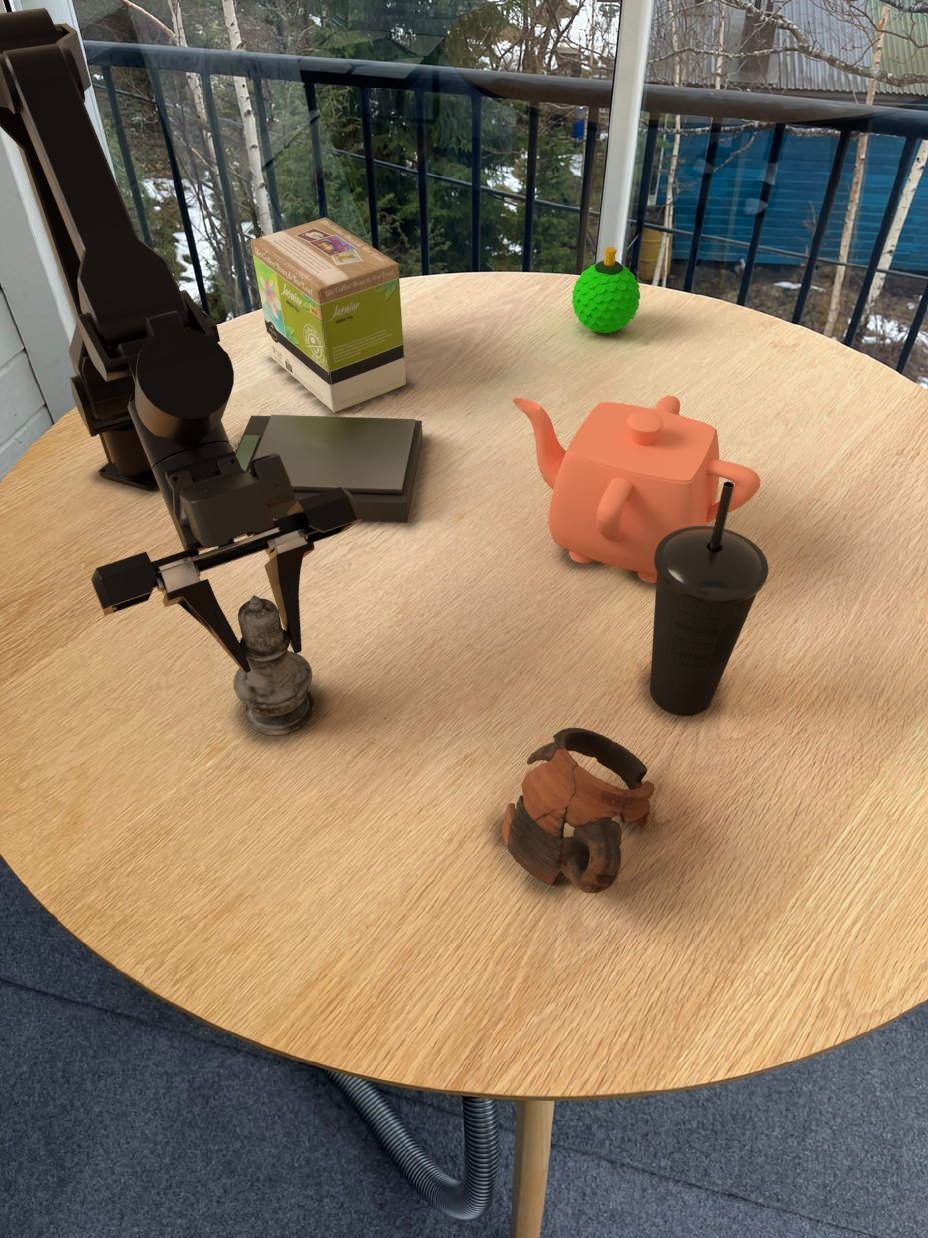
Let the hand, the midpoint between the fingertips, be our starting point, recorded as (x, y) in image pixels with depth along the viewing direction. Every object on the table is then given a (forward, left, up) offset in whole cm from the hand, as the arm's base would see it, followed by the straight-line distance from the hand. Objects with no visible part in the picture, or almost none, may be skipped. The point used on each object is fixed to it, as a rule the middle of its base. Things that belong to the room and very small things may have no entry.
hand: (273, 662), depth 67 cm
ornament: (+3, +69, -7) cm, 69 cm away
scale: (-13, +29, -7) cm, 32 cm away
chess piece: (-1, +1, -7) cm, 7 cm away
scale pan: (-12, +29, -4) cm, 32 cm away
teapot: (+17, +31, -7) cm, 36 cm away
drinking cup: (+27, +15, -7) cm, 31 cm away
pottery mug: (+24, -1, -7) cm, 25 cm away
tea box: (-22, +47, -7) cm, 52 cm away
